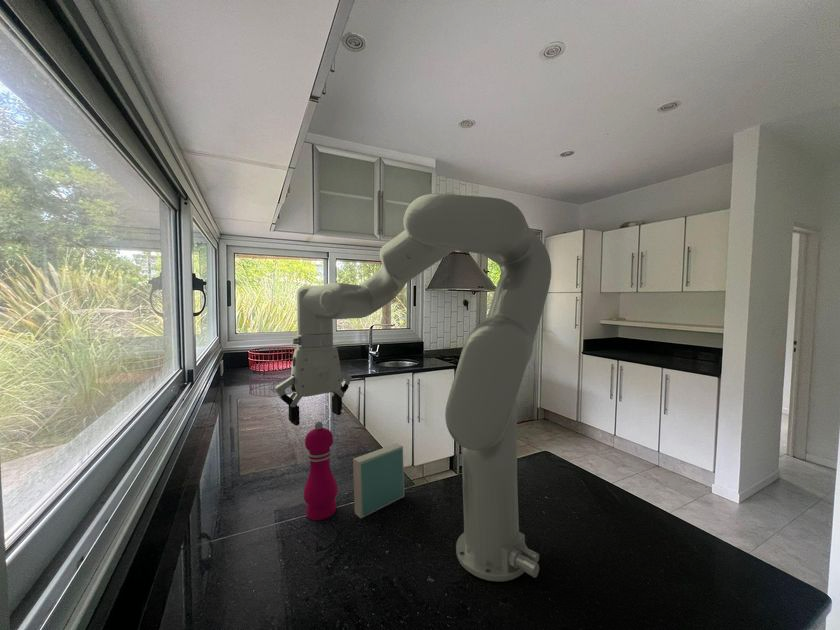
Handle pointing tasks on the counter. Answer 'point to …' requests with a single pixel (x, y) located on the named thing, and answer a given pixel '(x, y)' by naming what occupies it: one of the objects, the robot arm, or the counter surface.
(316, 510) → the pepper mill
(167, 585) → the counter surface
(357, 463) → the glazed tile
